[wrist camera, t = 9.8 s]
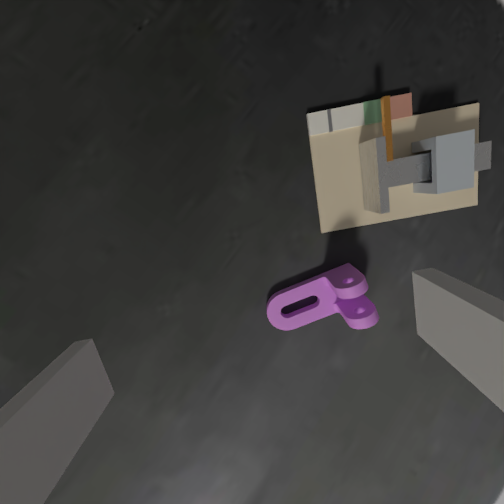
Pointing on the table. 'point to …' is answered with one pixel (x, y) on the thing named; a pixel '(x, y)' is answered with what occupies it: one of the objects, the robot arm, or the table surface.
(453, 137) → the beige mechanism board
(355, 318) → the bracket
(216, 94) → the table surface
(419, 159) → the grey sliding clamp
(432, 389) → the table surface
